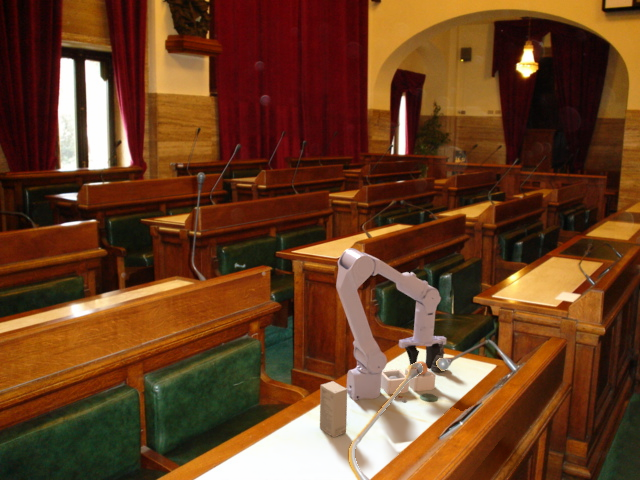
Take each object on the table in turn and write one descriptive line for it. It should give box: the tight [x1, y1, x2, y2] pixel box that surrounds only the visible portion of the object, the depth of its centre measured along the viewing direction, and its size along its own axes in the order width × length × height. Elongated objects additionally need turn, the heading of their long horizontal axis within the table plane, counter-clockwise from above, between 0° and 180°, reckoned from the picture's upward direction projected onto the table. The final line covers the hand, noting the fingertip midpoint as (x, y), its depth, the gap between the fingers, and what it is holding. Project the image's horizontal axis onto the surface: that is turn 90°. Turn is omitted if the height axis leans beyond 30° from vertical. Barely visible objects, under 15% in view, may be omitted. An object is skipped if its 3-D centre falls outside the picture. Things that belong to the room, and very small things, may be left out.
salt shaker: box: [430, 344, 446, 373], centre depth 197 cm, size 6×6×12 cm
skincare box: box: [319, 380, 348, 438], centre depth 161 cm, size 6×4×12 cm
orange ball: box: [417, 360, 428, 375], centre depth 185 cm, size 4×4×4 cm
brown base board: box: [397, 393, 439, 404], centre depth 182 cm, size 16×14×2 cm
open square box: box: [381, 368, 410, 395], centre depth 184 cm, size 7×7×4 cm
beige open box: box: [404, 367, 436, 392], centre depth 186 cm, size 7×7×4 cm
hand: (420, 368), depth 186 cm, fingers open, 4 cm apart
